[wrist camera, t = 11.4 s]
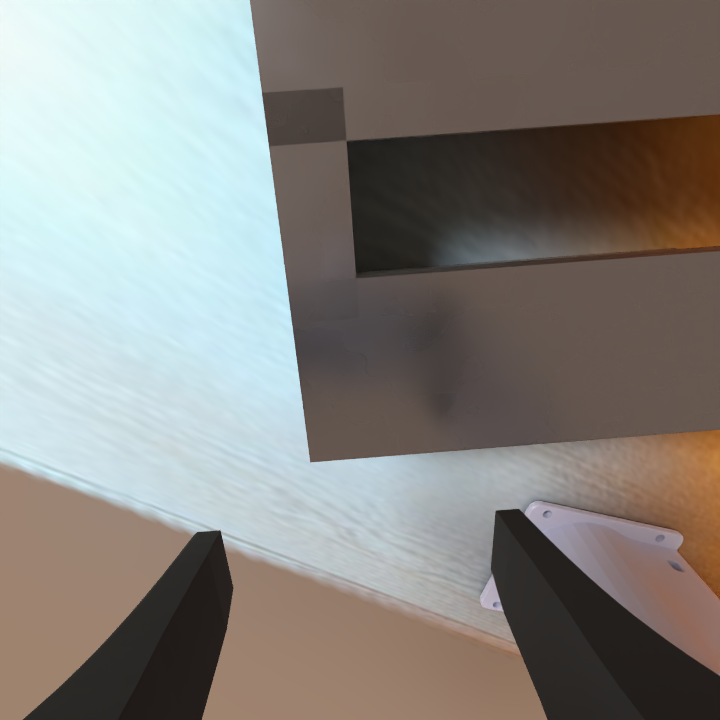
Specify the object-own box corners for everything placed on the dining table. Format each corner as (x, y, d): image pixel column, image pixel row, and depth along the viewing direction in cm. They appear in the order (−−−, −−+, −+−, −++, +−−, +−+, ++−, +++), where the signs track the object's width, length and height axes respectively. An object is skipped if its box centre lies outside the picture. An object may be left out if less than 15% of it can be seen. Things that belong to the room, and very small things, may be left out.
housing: (318, 380, 22) (310, 462, 16) (270, -49, 15) (225, -188, 9) (653, 354, 22) (772, 425, 16) (739, -80, 16) (992, -236, 10)
